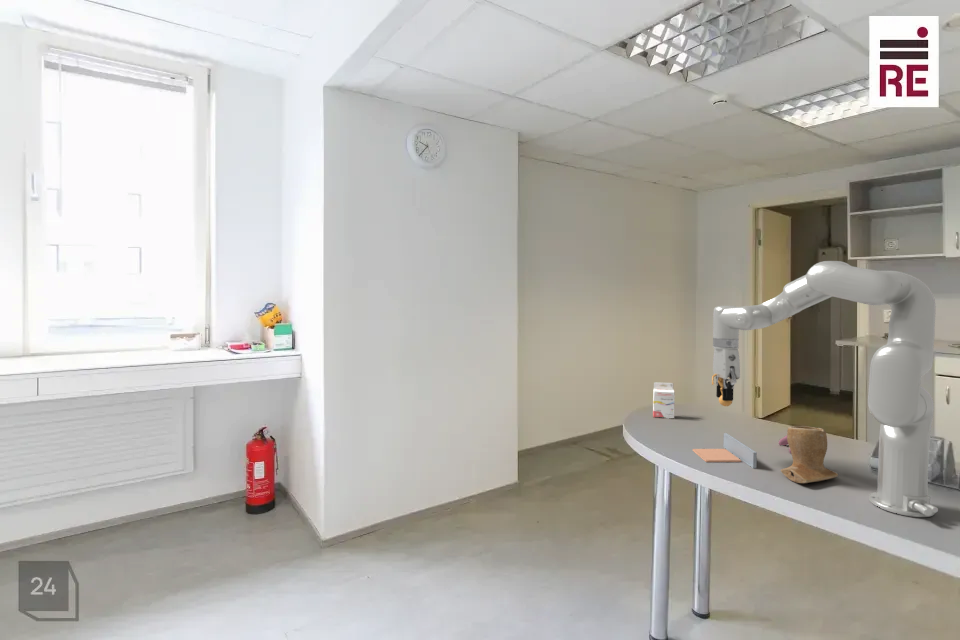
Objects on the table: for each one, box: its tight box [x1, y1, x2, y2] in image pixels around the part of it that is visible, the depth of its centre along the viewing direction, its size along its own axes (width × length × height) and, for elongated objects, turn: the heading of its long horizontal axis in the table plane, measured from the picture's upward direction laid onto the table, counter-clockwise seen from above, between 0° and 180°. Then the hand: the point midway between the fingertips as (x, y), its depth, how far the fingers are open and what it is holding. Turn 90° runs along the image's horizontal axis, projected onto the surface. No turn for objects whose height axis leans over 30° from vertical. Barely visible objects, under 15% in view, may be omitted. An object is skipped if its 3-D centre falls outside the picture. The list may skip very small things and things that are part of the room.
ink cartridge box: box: [652, 381, 676, 419], centre depth 209 cm, size 9×5×15 cm, turn 72°
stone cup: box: [780, 425, 839, 484], centre depth 142 cm, size 15×12×15 cm
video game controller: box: [778, 434, 791, 454], centre depth 166 cm, size 10×5×7 cm, turn 169°
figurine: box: [711, 373, 733, 407], centre depth 160 cm, size 8×6×12 cm
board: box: [692, 448, 742, 463], centre depth 161 cm, size 11×11×1 cm
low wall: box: [723, 432, 758, 469], centre depth 160 cm, size 20×1×5 cm, turn 178°
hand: (724, 398), depth 159 cm, fingers closed on figurine, 3 cm apart
